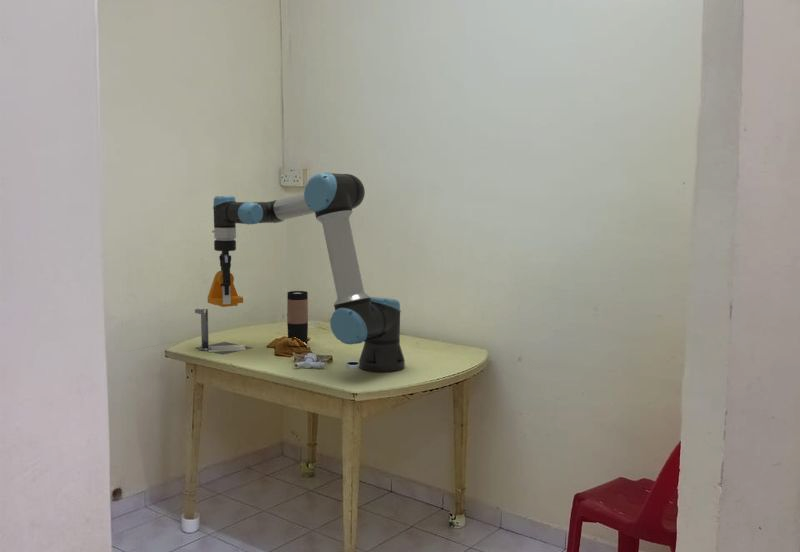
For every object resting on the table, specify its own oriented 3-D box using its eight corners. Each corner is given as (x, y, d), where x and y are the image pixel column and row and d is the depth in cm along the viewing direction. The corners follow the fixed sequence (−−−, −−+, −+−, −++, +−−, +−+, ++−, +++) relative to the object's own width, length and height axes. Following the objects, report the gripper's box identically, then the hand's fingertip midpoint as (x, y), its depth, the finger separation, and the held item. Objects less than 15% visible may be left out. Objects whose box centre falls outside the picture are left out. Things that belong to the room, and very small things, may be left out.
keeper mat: (222, 356, 248) (222, 355, 248) (192, 349, 258) (192, 348, 258) (257, 349, 261) (257, 347, 261) (226, 342, 271) (226, 341, 271)
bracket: (216, 307, 251) (215, 273, 249) (207, 304, 256) (207, 271, 255) (244, 304, 257) (243, 271, 256) (235, 302, 263) (235, 269, 262)
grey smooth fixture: (214, 349, 257) (213, 309, 256) (204, 351, 254) (203, 310, 252) (202, 346, 261) (201, 307, 259) (192, 348, 258) (191, 308, 256)
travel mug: (284, 343, 270) (284, 291, 268) (303, 341, 274) (303, 290, 272) (292, 347, 264) (291, 294, 261) (311, 345, 267) (311, 292, 265)
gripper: (213, 237, 263) (214, 297, 266) (215, 241, 243) (216, 307, 245) (233, 237, 266) (234, 297, 268) (237, 241, 245) (238, 306, 248)
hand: (226, 301), depth 257 cm, fingers closed on bracket, 9 cm apart
